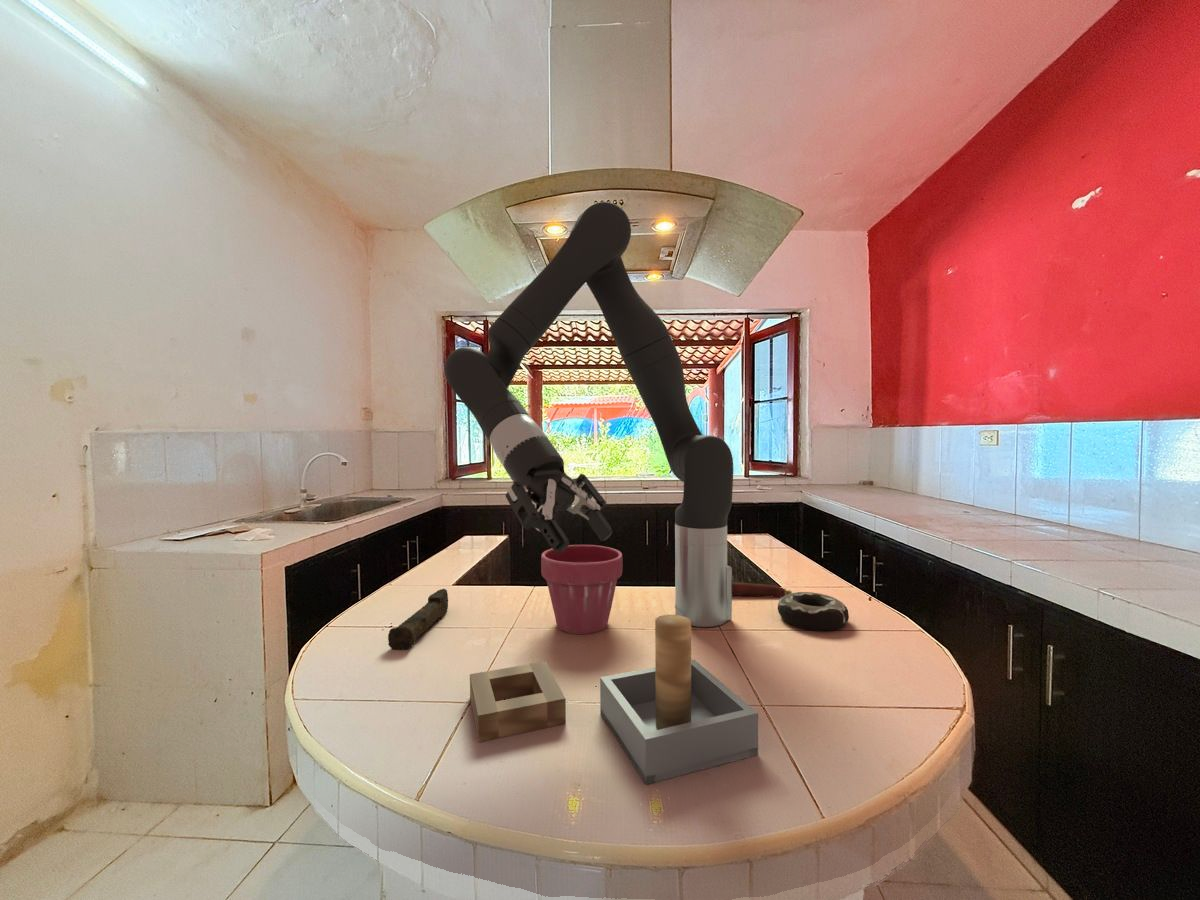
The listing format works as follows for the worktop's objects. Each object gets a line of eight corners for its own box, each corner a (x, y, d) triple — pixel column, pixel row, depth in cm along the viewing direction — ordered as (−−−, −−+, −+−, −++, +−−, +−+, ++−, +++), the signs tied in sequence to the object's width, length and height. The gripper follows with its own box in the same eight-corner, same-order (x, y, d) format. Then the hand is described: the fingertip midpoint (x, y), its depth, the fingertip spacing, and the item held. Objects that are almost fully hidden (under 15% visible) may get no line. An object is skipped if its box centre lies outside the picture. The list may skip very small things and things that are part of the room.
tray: (694, 693, 65) (694, 659, 65) (757, 754, 53) (758, 712, 53) (600, 713, 61) (600, 677, 61) (645, 784, 48) (645, 739, 48)
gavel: (785, 575, 108) (800, 589, 98) (783, 595, 108) (799, 612, 98) (687, 567, 109) (692, 581, 99) (685, 588, 109) (691, 604, 99)
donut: (800, 637, 83) (800, 613, 83) (766, 611, 95) (766, 591, 94) (863, 632, 85) (864, 609, 85) (822, 608, 96) (822, 587, 96)
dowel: (680, 712, 59) (680, 612, 59) (697, 731, 56) (697, 625, 55) (649, 719, 58) (649, 617, 58) (665, 739, 54) (665, 630, 54)
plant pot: (620, 609, 96) (619, 543, 95) (626, 640, 82) (625, 562, 81) (545, 610, 96) (544, 544, 95) (538, 641, 82) (537, 563, 81)
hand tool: (411, 653, 78) (410, 623, 78) (387, 652, 79) (386, 622, 79) (460, 610, 97) (460, 586, 97) (441, 609, 98) (440, 585, 97)
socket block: (545, 683, 68) (545, 661, 68) (565, 723, 59) (565, 698, 59) (470, 696, 65) (469, 674, 65) (478, 742, 55) (478, 715, 55)
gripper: (498, 435, 65) (563, 534, 58) (573, 433, 76) (635, 516, 69) (474, 474, 68) (532, 571, 61) (549, 467, 79) (606, 549, 72)
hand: (587, 542), depth 65 cm, fingers open, 8 cm apart
